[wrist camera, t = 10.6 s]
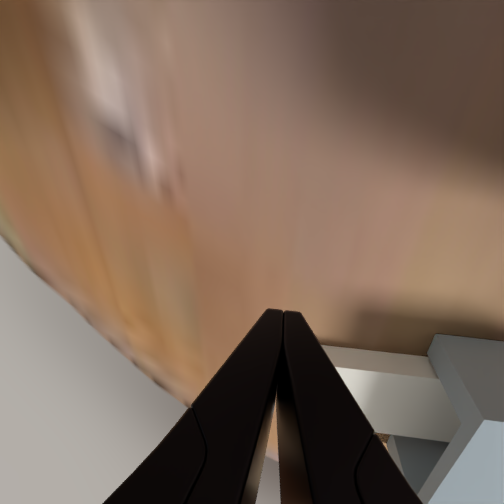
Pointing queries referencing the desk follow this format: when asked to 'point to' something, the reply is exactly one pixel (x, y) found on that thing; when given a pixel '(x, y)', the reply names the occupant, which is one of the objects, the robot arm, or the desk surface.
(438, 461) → the overhang
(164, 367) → the desk surface
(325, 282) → the desk surface
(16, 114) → the desk surface
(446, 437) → the tile
